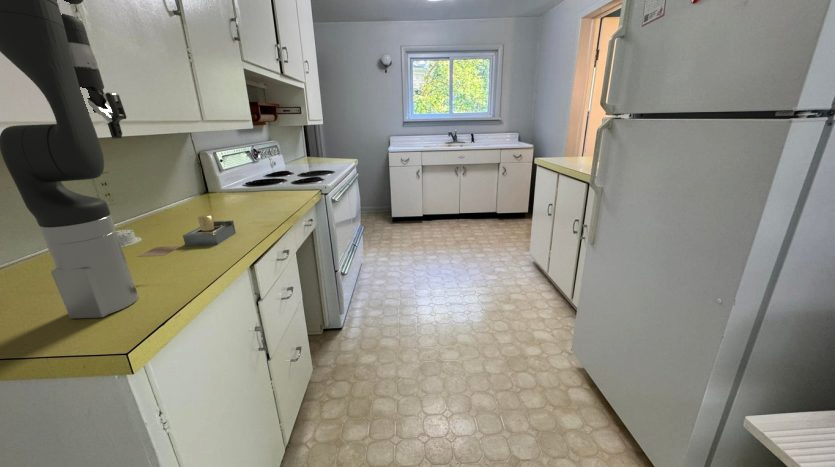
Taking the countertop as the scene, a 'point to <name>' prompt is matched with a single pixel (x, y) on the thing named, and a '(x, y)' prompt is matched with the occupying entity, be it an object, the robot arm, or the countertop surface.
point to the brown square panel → (159, 251)
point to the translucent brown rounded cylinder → (206, 223)
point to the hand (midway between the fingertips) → (100, 138)
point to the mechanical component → (127, 238)
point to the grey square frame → (210, 234)
